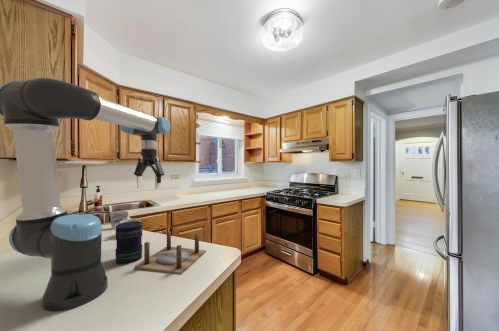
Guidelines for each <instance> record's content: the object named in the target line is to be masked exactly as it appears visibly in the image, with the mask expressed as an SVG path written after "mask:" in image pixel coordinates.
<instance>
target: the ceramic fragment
mask: <svg viewBox="0 0 499 331" xmlns="http://www.w3.org/2000/svg"><path fill="white" fill-rule="evenodd" d="M108 216H109V218H110V219H109V220H110V224H111V228H112V229H114V226H115V225H116V224H120V221H122V220H126V219H129V212H128V210H119V211H114V212H110V213H109V214H108Z"/></svg>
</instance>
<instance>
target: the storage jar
mask: <svg viewBox="0 0 499 331" xmlns="http://www.w3.org/2000/svg"><path fill="white" fill-rule="evenodd" d="M142 237H143V222H142V221H141V222H139V221H131V222H124V223H120V224H118V225H116V231H115V237H114V238H115V242H116V245H115V246H116V248H115V254H114V255H115V264H117V265H129V263H130V264H134V263H135V262H138V261H140V260H141V259H142V258H143V255H142V254H143V248H144V247H143V244H142Z"/></svg>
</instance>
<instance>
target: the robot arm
mask: <svg viewBox="0 0 499 331" xmlns="http://www.w3.org/2000/svg"><path fill="white" fill-rule="evenodd" d="M0 115H1V117H2V118H3V122H4V123H3V124H4V126H5V127H6V128H8V130H10V131H12V133H13V141H14V148H15V157H16V165H17V174H18V183H19V191H20V199H21V200H20V201H21V209H22V210H21V212H20V213H19V214H18V215H17V216H16V217H15V225H14V227H13V228H12V229H11V230H10V232H9V236H8V241H9V242H8V243H9V245H10V247H11V248H12V249H13V250H14V251H16V253H17V252H18V253H20V254H22V255H24V256H28V257H38V258H39V257H40V258H46V259H47V258H48V259H50V260H51V263H50V268H51V269H50V270H51V271H50V277H49V280H48V283H47V286H46V288H45V291H44V293H43V295H42V300H41V301H42V303H41V304H42V305H41V306H42V308H43V309H44V310H45V309H47V310H46V311H49V310H54V311H53V312H56V311H55V310H60V311H65V310H70V309H73V308H74V309H75V308H77V307H80V306H83V305H85V304H87V303H89V302H91V301H93V300H95V299H97V298H99V297H100V296H101V295H103V294H104V292H106V290H107V289H108V282H109V281H108V280H109V279H108V277H107V274H106V271H105V269H104V267H103V265H102V233H103V228H102V221H101V219H100V218H99V217H98V216H97V215H94V214H89V213H88V214H87V213H83V214H81V213H80V214H79V213H75V214H74V213H73V214H68V208H66V207H64V206H63V205H61V196H60V184H59V177H58V176H59V175H58V166H57V155H56V149H55V148H56V147H55V136H54V134H55V132H56V131H58V130H59V129H60V122H59V120H64V119H77V120H84V121H87V122H88V121H93V120H97V121H101V122H105V123H109V124H113V125H118V126H120V130H121V132H122V133H124V134H127V135H130V136H131V135H133V136H137V137H138V136H139V137H141V138H140V140H141V141H140V148H141V150H140V156H141V157H138V160H137V164H136V167H135V170H134V172H133V175H134V176H136V188H137V189H143V188H144V185H143V182H144V181H143V180H144V177H143V173H144V172H145V171H146V169H147V168H148V167H150V168H151V169H152V171H153V173H154V175H155V177H154V190H156V191H157V190H161V183H162V177H163V176H165V173H164V169H163V167H162V163H161V158H160V157H157V156H158V155H157V151H158V150H157V148H158V147H157V145H158V143H157V142H158V141H157V140H158V135H159V134H160V135H163V134H168V133H169V132H170V129H171V123H170V121H169V119H168V118H167V117H163V116H157V117H156V116H152V115H150V114H147V113H144V112H141V111H139V110H137V109H134V108H130V107H128V106H125V105H122V104H119V103H117V102H114V101H111V100H108V99H106V98H103V97H101V96H100V95H99V94H98V92H95V91H92V90H91V89H87V88H86V87H85V88H84V87H82V86H80V85H79V86H78V85H77V84H73V83H70V82H68V81H64V80H60V79H55V78H51V77H49V78H48V77H38V78H32V79H25V80H16V81H10V82H6V83H5V84H3V85H0Z"/></svg>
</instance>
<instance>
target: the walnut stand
mask: <svg viewBox="0 0 499 331" xmlns="http://www.w3.org/2000/svg"><path fill="white" fill-rule="evenodd" d="M150 244H151V243H150V242H149V241H146V242H144V247H143V248H144V253H143V254H144V255H143V256H144V260H143V261H141V262H139V263H138V264H136V265H134V270H138V271H149V272H157V273H158V272H159V273H167V274H175V275H183V274H184V273H185V272H186V271H187V270H189V268H190V267H191V266H192V265H193V264H195V263H196V262H197V261H198V260H199V259H200V258H201V257H203V256H204V254H206V253H207V250H206V249H200V234H199V233H197V232H196V233H194V248H187V247H183V246H182V245H181V244H178V245H176V246H172V232H171V231H170V230H169V231H166V246H165V247H164V248H162V249H159V250H158V251H157V252H155V253H153V254H152V255H151V256H150V249H151V248H150Z"/></svg>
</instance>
